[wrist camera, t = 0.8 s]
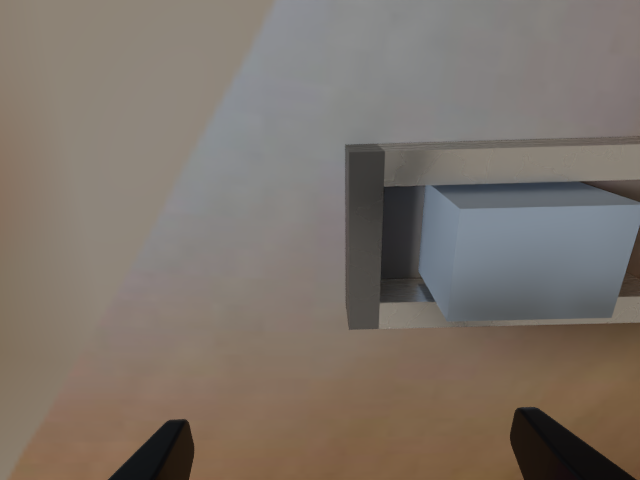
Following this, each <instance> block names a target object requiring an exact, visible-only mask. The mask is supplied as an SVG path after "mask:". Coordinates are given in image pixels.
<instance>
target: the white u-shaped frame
mask: <svg viewBox="0 0 640 480" xmlns="http://www.w3.org/2000/svg"><path fill="white" fill-rule="evenodd" d="M608 180H640V136H636V137H601V138H565V139H530V140H495V141H460V142H424V143H389V144H354V145H345V205H346V310H347V317H348V325H349V330H352V329H393V328H434V327H475V326H516V325H557V324H598V323H639V322H640V279H638V278H636V277H634V276H633V275H631V274H629V273H625V275H624V279H623V282H622V285H621V289H620V292H619V295H618V298H617V302H616V305H615V308H614V311H613V315H612V318H583V319H538V320H494V321H450V322H447V321H446V319H445V317H444V315H443V314H442V312H441V310H440V308H439V307H438V305H437V303H436V301H435V300H434V298H433V296H432V294H431V292H430V291H429V289H428V287H427V285H426V284H425V282H424V280H423V278H406V279H381V253H382V225H383V197H384V187H389V186H426V185H462V184H498V183H535V182H571V181H608Z"/></svg>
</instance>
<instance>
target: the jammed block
mask: <svg viewBox="0 0 640 480" xmlns="http://www.w3.org/2000/svg"><path fill="white" fill-rule="evenodd" d="M639 226H640V202H637V201H634V200H631V199H628V198H625V197H622V196H620V195H617V194H614V193H611V192H608V191H605V190H602V189H599V188H596V187H593V186H590V185H587V184H584V183H581V182H578V181H571V182H535V183H498V184H462V185H426V186H425V195H424V208H423V220H422V233H421V245H420V258H419V270H418V271H419V273H420V275H421V276H422V278H423V280H424V282H425V284H426V285H427V287H428V289H429V291H430V292H431V294H432V296H433V298H434V300H435V301H436V303H437V305H438V307H439V308H440V310H441V312H442V314H443V315H444V317H445V319H446V321H447V322H450V321H494V320H538V319H583V318H612V315H613V311H614V308H615V305H616V302H617V298H618V295H619V292H620V289H621V285H622V282H623V279H624V275H625V272H626V269H627V266H628V262H629V259H630V256H631V253H632V249H633V246H634V243H635V239H636V236H637V233H638V230H639Z"/></svg>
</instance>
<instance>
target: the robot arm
mask: <svg viewBox="0 0 640 480" xmlns="http://www.w3.org/2000/svg"><path fill="white" fill-rule="evenodd" d="M510 441H511V446H512V449H513V451H514V454H515V457H516V459H517V462H518V465H519V467H520V470H521V473H522V475H523V478H524V480H636V479H635V478H634V477H632V476H631V475H629V474H628V473H627V472H625V471H624V470H623V469H621V468H620V467H618V466H617V465H616V464H614V463H613V462H612V461H610V460H609V459H607V458H606V457H605V456H603V455H602V454H600V453H599V452H598V451H596V450H595V449H594V448H592V447H591V446H589V445H588V444H587V443H585V442H584V441H583V440H581V439H580V438H578V437H577V436H576V435H574V434H573V433H572V432H570V431H569V430H567V429H566V428H565V427H563V426H562V425H561V424H559V423H558V422H556V421H555V420H554V419H552V418H551V417H550V416H548V415H547V414H545V413H544V412H543V411H541V410H540V409H538V408H535V407H521V408H517V409H516V410H515V413H514V418H513V423H512V427H511V432H510ZM193 458H194V443H193V439H192V434H191V430H190V425H189V422H188V421H187V420H185V419H178V420H169V421H167V422H166V423H165V424H164V425H163V426H162V427H161V428H160V429H159V430H157V431H156V432H155V433H154V434H153V435H152V436H151V437H150V438H149V439H148V440H147V441H146V442H145V443H144V444H143V445H142V446H141V447H140V448H139V449H138V450H137V451H136V452H135V453H134V454H133V455H132V456H131V457H130V458H129V459H128V460H127V461H126V462H125V463H124V464H123V465H122V466H121V467H120V468H119V469H118V470H117V471H116V472H115V473H114V474H113V475H112V476H111V477H110V478H109V479H108V480H189V477H190V472H191V467H192V463H193Z"/></svg>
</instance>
